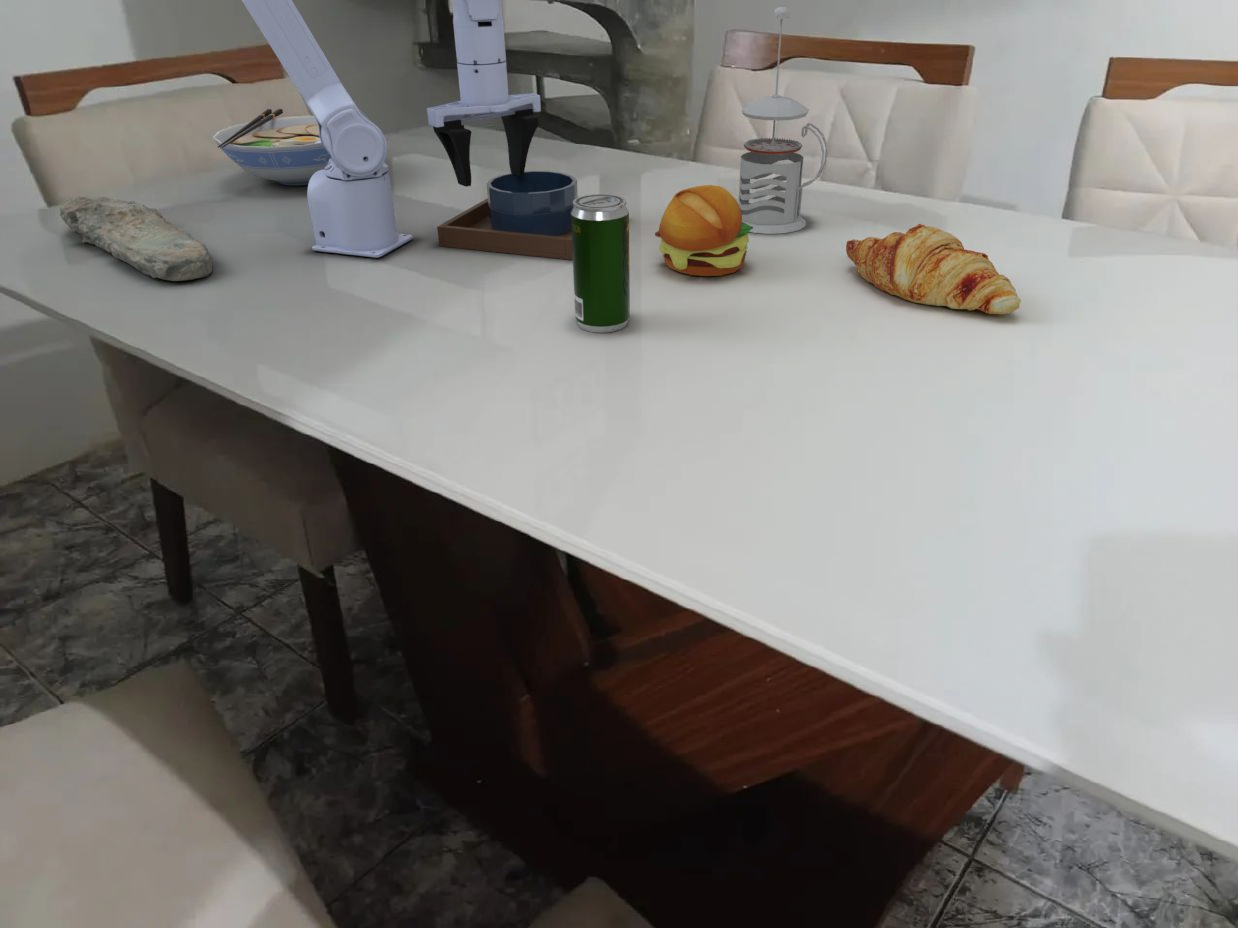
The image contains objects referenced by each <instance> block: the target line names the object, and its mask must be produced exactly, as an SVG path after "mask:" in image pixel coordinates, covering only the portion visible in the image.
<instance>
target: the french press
mask: <svg viewBox="0 0 1238 928" xmlns="http://www.w3.org/2000/svg"><path fill="white" fill-rule="evenodd" d="M790 17H791V10H790V9H789V8H788V7H784V6H778V7H777V8H776V9H775V10H774V11H773V19H779V21H780V22H779V36H778V49H777V50H778V51H777V64H776V66H777V67H776V80H775V93H774V94H772V95H769V96H764V97H761V98H760V97H759V98H758V99H756V100H753V101H750V102H749V103H747V104H746V105H745V106H743V108H742V109H741V110H740V111H741V113H742V115H743V116H744V117H746V118H749V119H752V120H762V121H772V123H773V125H772V137H769V138H768V137H764V138H763V137H761V138H758V137H757V138H754V139H749V140H747V141H745V142H744V143H743V147H744V149H746V150H747V151H749V152H745V153H743V154H741V156H740V168H739V169H740V170H739V185H738V186H739V188H738V202H737V203H738V205H739V207H740V210H741V213H742V222H743V223H746V224H747V225H749V226H753V229H751V230H749V232H748V233H754V234H765V235H776V234H788V233H792V232H798V231H800V230H802V229H804V228H805V227H806V226H807V221H806V220H805V219H804V218H803V216H801V210H802V199H803V190H804V189H803V188H805V187H808V186H810V185H811V184H813V183H814V182H815V181H816V180H818V179H819V178H820V177H821V176H822V174H823V172H824V170H825V168H826V165H827V160H828V154H829V148H828V142H827V140H826V137H825V134H824V133H823V132H822V131H821V130H820V128H819V127H817V126H816V125H814V124H813V123H809V122H808V123H806V125H803V127H801V137H802V138H805V137H806V136H807V135H808V131H810V132H811V133H813V134H814V136H815V137H816V138H817V140H818V142H819V145H820V150H821V161H820V166H819V169H818V171H817V173H816V175H815V177H813V179H811V180H807V181H805V182H803V181H802V180H803V168H804V156H803V155H802V154H800V153H798V152H799V151H801V149H802V148H803V144H802V143H801V142H800V141H798V140H794V139H788V138H784V137H782V138H778V137H777V138H776V137H775V130H776V121H777V122H778V121H792V120H800V119H802V118H805V117H806V116H807V115H808V114H809V111H810V109H809V108H808V107H806V106H805V105H803V103H801V102H799V101H797V100H795V99H794V98H793V97H788V96H782V95H780V94H778V90H779V76H780V75H779V74H780V59H781V48H782V47H781V45H782V34H783V33H782V31H783V19H790ZM811 127H812V128H811ZM814 129H815V130H816V131H817V132H818V133H819V134H820V136H821V137H820V136H819V135H818V133H817V132H816V131H815V130H814ZM821 138H822V140H821ZM822 141H823V142H822ZM823 143H824V144H823ZM824 147H825V148H824ZM780 161H781V162H782V161H790V163H782V164H781V163H779V164H776V163H778V162H780ZM791 162H792V163H791ZM771 175H777V176H775V177H772V178H767V177H769V176H771ZM763 178H764V179H763ZM751 180H757V181H754V182H751ZM802 182H803V183H802ZM768 186H774V187H772V188H766V187H768ZM762 188H766V189H762ZM759 189H760V190H759ZM750 190H757V191H754V192H751V193H750ZM784 191H785V192H784ZM767 196H773V197H770V198H768V199H763V200H762V199H761V198H765V197H767ZM757 199H761V200H757ZM750 200H757V201H755V202H750Z"/></svg>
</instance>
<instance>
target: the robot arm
mask: <svg viewBox="0 0 1238 928" xmlns="http://www.w3.org/2000/svg"><path fill="white" fill-rule="evenodd" d="M241 2H242V3H243V5H244V6H245V8H246V10H247V11H248V13H249V15H250V16H251V17H252V19H253V21H254V23H255V24H256V25H257V27H258V29H259V31H260V32H261V33H262V35H263V37H264V38H265V40H266V41H267V43H268V45H269V47H270V48H271V49H272V51H273V53H274V54H275V56H276V57H277V59H278V61H279V62H280V64H281V65H282V67H283V69H284V70H285V71H286V73H287V75H288V76H289V79H290V80H291V81H292V83H293V85H294V86H295V88H296V89H297V91H298V92H299V94H300V96H301V97H302V99H303V101H304V102H305V104H306V105H307V107H308V109H309V111H310V113H311V114H312V116H314V117H315V119H316V121H317V123H318V128H319V137H320V140H321V143H322V145H323V147H324V148H325V150H326V151H327V152H328V153H329V154H330V155H331V157H332V158H331V159H330V160H329V162H328V164H327V167H325V170H319V171H317V172H315V173H314V174H313V175H312V177H311V178H310V181H309V184H308V185H307V189H306V190H307V191H306V195H307V196H306V199H307V203H308V210H309V214H310V220H311V226H312V231H313V236H314V242H315V244H313V246H311V247H312V248H311V249H312V251H314V252H323V253H330V254H331V253H332V254H341V255H349V256H358V257H365V258H366V257H368V258H374V259H375V258H376V259H377V258H381V257H383V256H385V255H387V254H388V253H390V252H392V251H394V250H396V249H398V248H399V247H401V246H403V245H404V244H406V243H408V242H410V241H411V240H413V235H412V234H405V233H398V227H397V219H396V214H395V213H396V212H395V206H394V199H393V191H392V185H391V178H390V171H389V165H388V163H386V162H385V161H386V159H387V156H388V155H387V154H388V144H387V139H386V138H385V137H386V136H385V135H384V133H383V131H382V130H381V129H380V128H379V127H378V126H377V125H376V124H375V123H373V121H371V120H370V119H369V117H368V116H367V115H366V114H365V113H364V112H363V111H362V110H360V109H359V107H358V106H357V104H356V103H355V102H354V99H352V96H350V94H349V93H348V91H347V90H346V88H345V87H344V85H343V83H342V82H341V80H340V78H339V76H338V75H337V73H336V72H335V70H334V68H333V67H332V65H331V63H330V61H329V60H328V59H327V57H326V55H325V53H324V52H323V50H322V48H321V47H320V45H319V44H318V42H317V40H316V38H315V36H314V35H313V33H312V31H311V30H310V28H309V26H308V24H307V22H306V21H305V20H304V18H303V16H302V15H301V13H300V12H299V10H298V8H297V6H296V5H295V3H294V1H293V0H241ZM451 5H452V12H453V13H452V14H453V16H452V17H453V18H452V24H453V34H454V45H455V55H456V67H457V76H458V77H457V78H458V87H459V96H460V100H457V101H453V102H449V103H445V104H441V105H437V106H430V107H426V113H427V121H428V126H431V127H432V129H433V132H434V134H435V135H436V137H437V138H438V139H439V141H440V143H441V144H442V146H443V148H444V150H445V152H446V154H447V156H448V158H449V161H450V163H451V166H452V168H453V172H454V174H455V178H456V181H457V184H458V185H460V186H464V187H466V188H467V187H472V170H471V161H470V160H471V159H470V157H471V155H470V154H471V153H470V152H471V151H470V150H471V139H472V138H471V137H472V130H471V129H468V128H465V125H464V124H462V123H466V122H473V121H480V120H485V119H486V120H487V119H493V118H498V117H501V121H502V125H503V128H504V132H505V137H506V143H507V152H508V164H509V170H510V173H512V174H515V175H517V176H524V171H526V165H527V164H526V163H527V159H528V153H529V149H530V147H531V143H532V140H533V137H534V135H535V132H536V130H537V128H539V125H540V116H539V115H538V114H534V113H540V112H541V111H542V107H541V106H542V105H541V95H540V94H536V93H532V92H531V93H529V92H528V93H519V94H509V83H508V82H509V81H508V67H507V55H506V54H507V53H506V39H505V25H504V17H503V7H502V6H503V5H502V0H451Z"/></svg>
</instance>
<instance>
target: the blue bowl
mask: <svg viewBox="0 0 1238 928" xmlns="http://www.w3.org/2000/svg"><path fill="white" fill-rule="evenodd" d="M486 194H487V198H488V207H489V219H490V224H491V229H492V230H497V231H507V232H517V233H527V234H537V235H547V236H559V235H563V234H566V233H568V232H571V231H572V230H571V211H572V208H573V201H574V199H576V198H578V197H579V195H578V179H576V177H575V176H573V175H570V174H568V173H566V172H565V173H564V172H559V171H553V170H552V171H551V170H525V171H524V176H517V175H515V174H512V173H511V172H509V173H503V174H499V175H497V176H494V177H492V178H490V179H489V180H488V181H487V182H486Z"/></svg>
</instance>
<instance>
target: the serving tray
mask: <svg viewBox="0 0 1238 928" xmlns="http://www.w3.org/2000/svg"><path fill="white" fill-rule="evenodd" d="M436 230H437V239H438V246H439V247H444V248H453V249H454V248H455V249H464V250H473V251H474V250H475V251H482V252H492V253H502V254H510V255H511V254H512V255H520V256H530V257H539V258H549V259H558V260H568V261H573V253H572V231H571V232H568V233H566V234H563V235H559V236H547V235H537V234H527V233H517V232H507V231H497V230H492V229H491V224H490V219H489V207H488V197H487V198H485V199H483V200H482V201H480V202H478V203H477V204H474V205H473V206H471V207H469V208H468V209H466V210H464V211H462V212H460V213H459V214H457V215H454V216H453V217H451V218H449V219H448V220H446V221H445V222H442V223H441V224H440V225H437V226H436Z"/></svg>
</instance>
